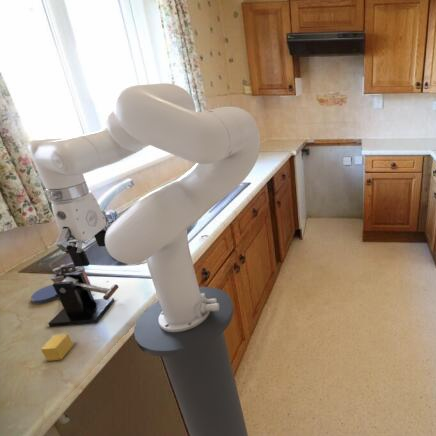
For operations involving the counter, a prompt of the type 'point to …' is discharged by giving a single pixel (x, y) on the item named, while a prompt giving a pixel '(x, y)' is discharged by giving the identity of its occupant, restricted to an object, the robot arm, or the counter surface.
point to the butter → (57, 347)
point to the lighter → (67, 269)
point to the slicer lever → (93, 287)
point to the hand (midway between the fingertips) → (94, 255)
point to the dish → (44, 295)
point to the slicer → (78, 303)
